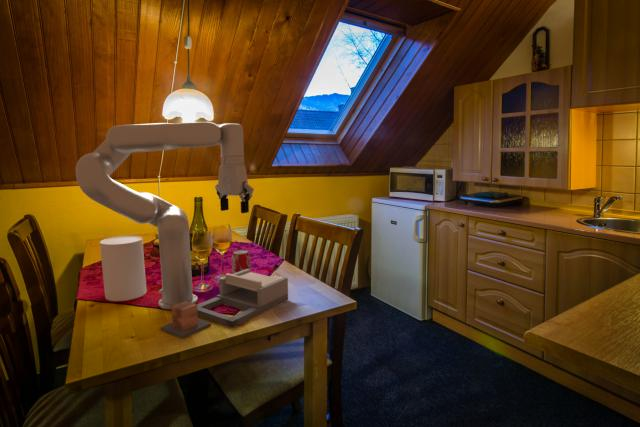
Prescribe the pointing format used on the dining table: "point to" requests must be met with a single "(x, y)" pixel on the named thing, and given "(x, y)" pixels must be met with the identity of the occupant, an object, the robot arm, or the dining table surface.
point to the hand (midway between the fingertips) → (234, 211)
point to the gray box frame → (244, 300)
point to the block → (184, 315)
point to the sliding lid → (249, 280)
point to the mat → (185, 333)
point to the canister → (123, 267)
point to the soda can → (240, 261)
